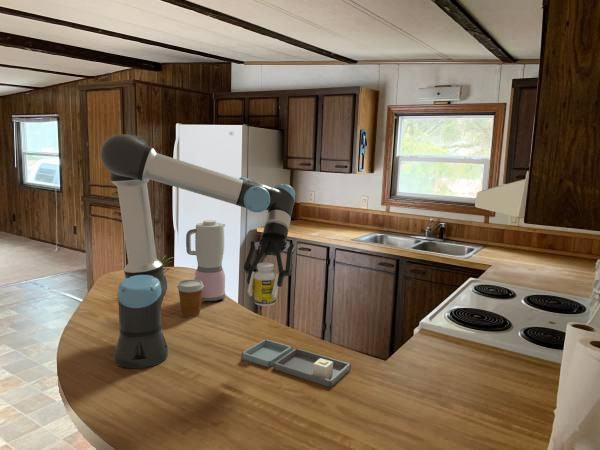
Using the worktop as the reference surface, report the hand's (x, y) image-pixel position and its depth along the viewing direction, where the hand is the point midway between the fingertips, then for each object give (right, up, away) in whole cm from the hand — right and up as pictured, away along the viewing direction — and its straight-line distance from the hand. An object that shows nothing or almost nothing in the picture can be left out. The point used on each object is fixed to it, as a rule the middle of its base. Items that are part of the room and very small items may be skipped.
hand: (261, 294), depth 135 cm
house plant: (-48, -9, +64) cm, 80 cm away
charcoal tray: (+14, -22, 0) cm, 26 cm away
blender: (-27, -10, +58) cm, 65 cm away
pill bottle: (+1, -3, +4) cm, 5 cm away
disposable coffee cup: (-30, -13, +41) cm, 52 cm away
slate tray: (+1, -20, +8) cm, 21 cm away
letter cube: (+17, -22, -4) cm, 28 cm away
